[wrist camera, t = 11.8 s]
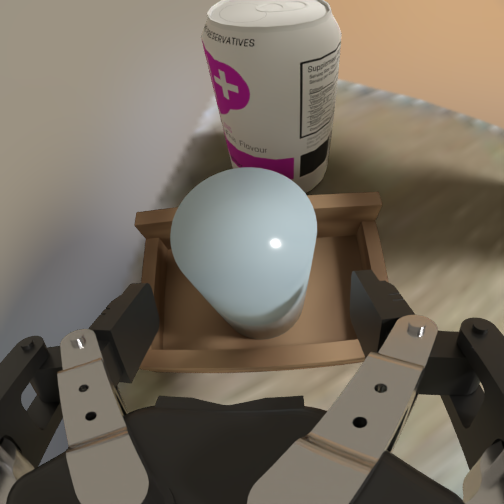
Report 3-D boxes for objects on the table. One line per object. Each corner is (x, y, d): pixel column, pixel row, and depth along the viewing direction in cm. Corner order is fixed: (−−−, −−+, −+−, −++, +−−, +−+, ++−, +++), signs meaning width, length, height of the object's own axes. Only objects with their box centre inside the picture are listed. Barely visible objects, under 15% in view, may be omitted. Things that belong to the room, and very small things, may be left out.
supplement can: (247, 215, 25) (209, 45, 11) (225, 146, 28) (189, 2, 15) (340, 189, 25) (370, 25, 12) (305, 126, 29) (305, -16, 15)
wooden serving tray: (362, 230, 23) (378, 191, 19) (383, 358, 19) (411, 349, 15) (162, 245, 25) (136, 212, 20) (156, 371, 20) (121, 365, 16)
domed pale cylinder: (307, 263, 21) (319, 171, 12) (299, 344, 19) (310, 306, 10) (228, 255, 22) (190, 165, 13) (214, 333, 20) (154, 287, 11)
